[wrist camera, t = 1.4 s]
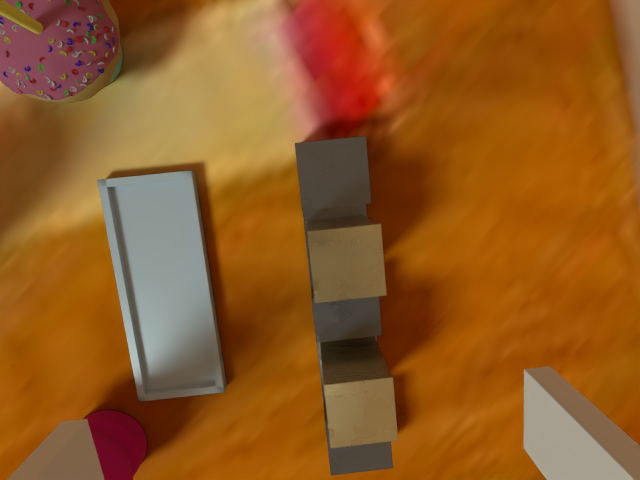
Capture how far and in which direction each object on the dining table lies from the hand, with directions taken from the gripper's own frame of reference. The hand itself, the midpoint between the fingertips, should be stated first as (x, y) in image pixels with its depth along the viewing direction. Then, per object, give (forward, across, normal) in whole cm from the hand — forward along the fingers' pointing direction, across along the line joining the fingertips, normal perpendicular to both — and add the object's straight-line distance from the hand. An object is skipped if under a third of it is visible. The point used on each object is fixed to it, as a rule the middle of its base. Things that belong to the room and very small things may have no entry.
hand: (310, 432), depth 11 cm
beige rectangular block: (+19, -2, -1) cm, 19 cm away
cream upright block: (+19, -2, +9) cm, 21 cm away
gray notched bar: (+19, -2, +4) cm, 20 cm away
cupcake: (+21, +15, -17) cm, 31 cm away
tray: (+19, +12, +1) cm, 23 cm away
